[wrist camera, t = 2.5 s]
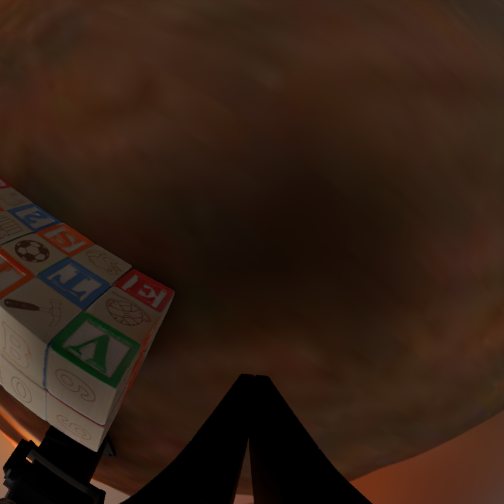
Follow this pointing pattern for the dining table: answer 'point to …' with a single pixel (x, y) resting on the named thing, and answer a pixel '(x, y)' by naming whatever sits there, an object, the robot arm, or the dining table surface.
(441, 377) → the dining table surface
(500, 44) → the dining table surface
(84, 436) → the stack of blocks
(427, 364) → the dining table surface
